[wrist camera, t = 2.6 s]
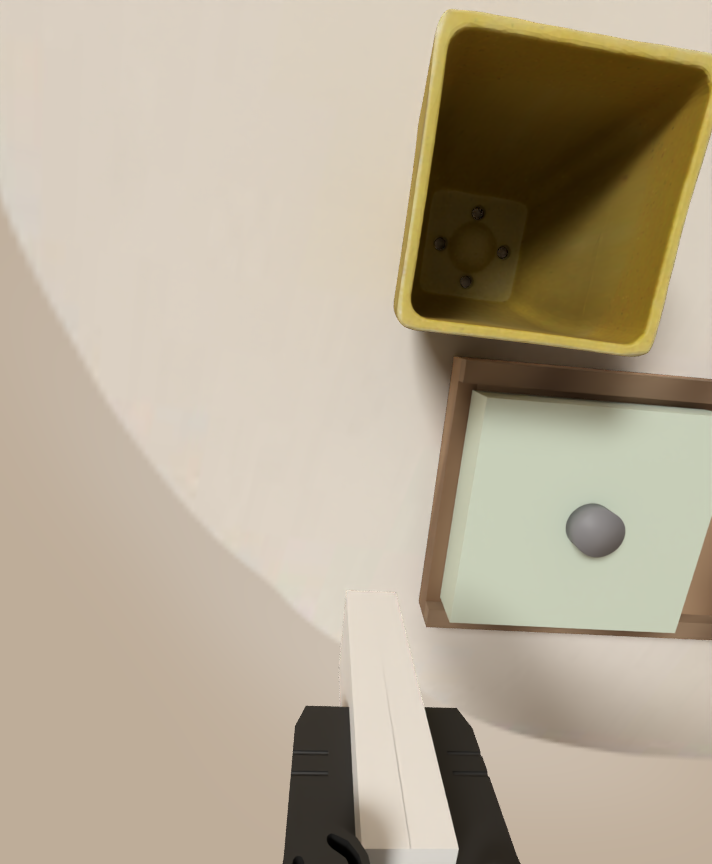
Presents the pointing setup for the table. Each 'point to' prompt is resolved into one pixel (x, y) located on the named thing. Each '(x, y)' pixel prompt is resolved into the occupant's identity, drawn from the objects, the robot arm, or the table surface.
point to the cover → (577, 513)
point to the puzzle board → (708, 593)
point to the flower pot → (550, 183)
